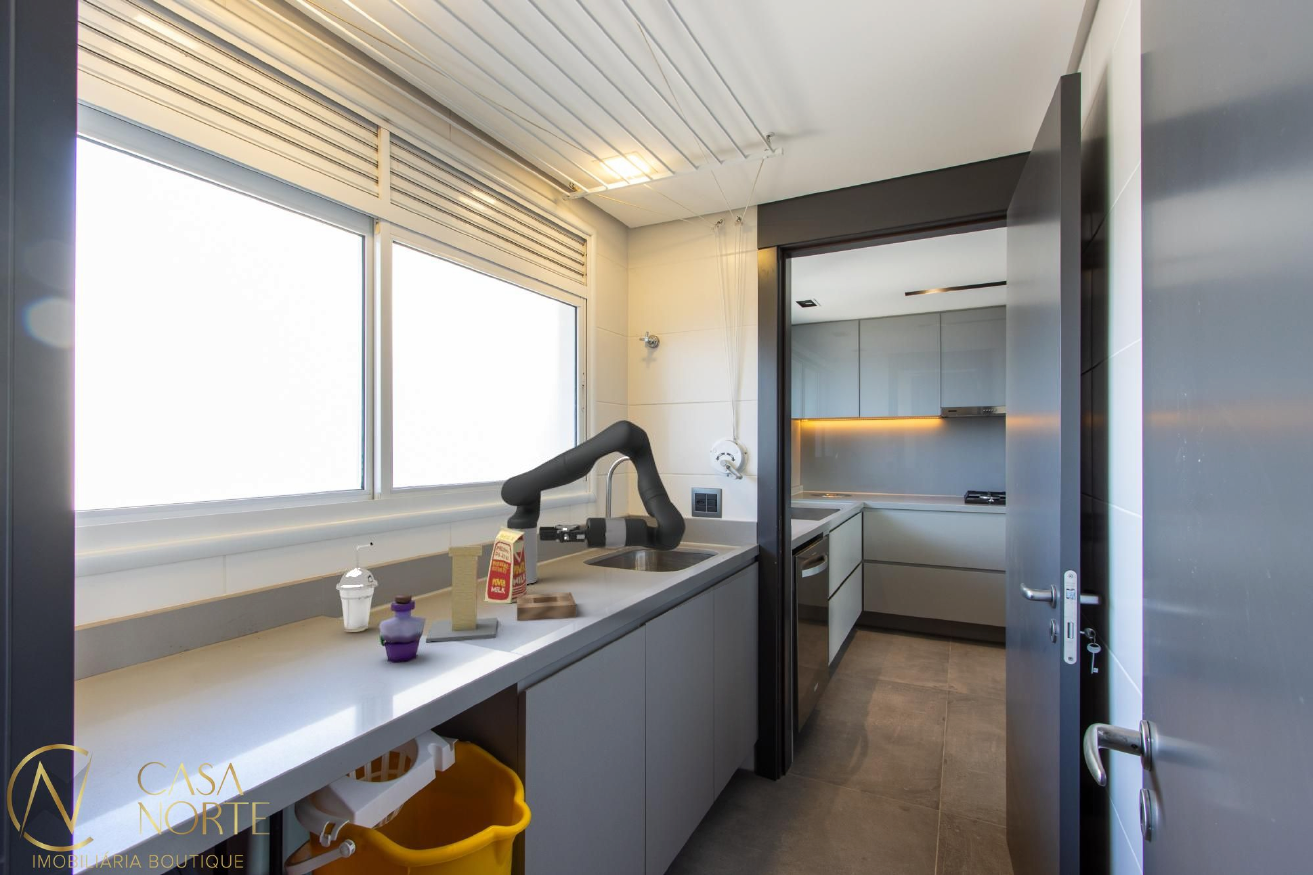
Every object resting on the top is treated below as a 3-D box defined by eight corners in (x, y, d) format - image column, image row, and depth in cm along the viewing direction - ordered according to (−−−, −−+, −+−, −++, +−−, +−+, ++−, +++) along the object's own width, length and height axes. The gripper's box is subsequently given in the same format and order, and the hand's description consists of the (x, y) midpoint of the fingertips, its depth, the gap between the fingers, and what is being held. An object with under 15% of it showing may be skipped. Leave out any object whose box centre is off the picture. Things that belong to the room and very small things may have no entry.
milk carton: (484, 601, 162) (485, 527, 162) (502, 594, 170) (503, 524, 171) (514, 603, 159) (514, 528, 160) (531, 596, 168) (531, 525, 169)
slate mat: (426, 642, 125) (426, 638, 125) (434, 624, 138) (434, 621, 139) (495, 637, 128) (495, 634, 128) (497, 620, 142) (497, 617, 142)
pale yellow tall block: (446, 631, 130) (447, 548, 131) (449, 625, 135) (450, 545, 136) (480, 629, 132) (480, 547, 133) (481, 623, 137) (482, 544, 137)
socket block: (517, 620, 142) (517, 607, 142) (517, 606, 156) (517, 595, 156) (576, 617, 145) (576, 604, 145) (570, 603, 159) (571, 592, 159)
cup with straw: (374, 623, 140) (375, 537, 141) (380, 632, 133) (381, 541, 133) (333, 628, 136) (335, 540, 136) (336, 638, 128) (338, 544, 129)
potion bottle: (373, 656, 116) (374, 594, 116) (419, 648, 121) (419, 588, 122) (383, 668, 109) (385, 602, 109) (432, 659, 114) (433, 596, 115)
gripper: (602, 514, 156) (539, 515, 152) (610, 520, 142) (540, 521, 138) (601, 543, 155) (538, 544, 152) (609, 552, 141) (539, 553, 138)
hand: (539, 533), depth 145 cm, fingers open, 8 cm apart
